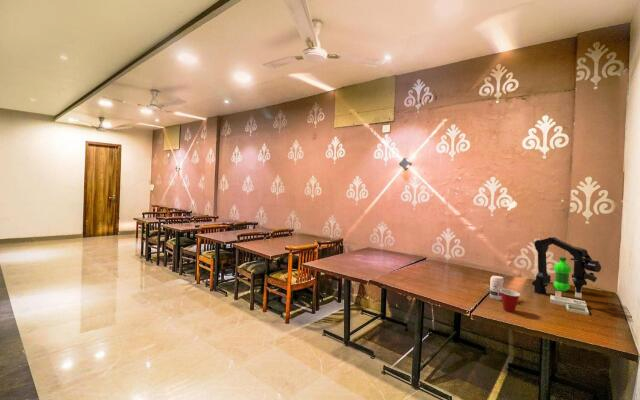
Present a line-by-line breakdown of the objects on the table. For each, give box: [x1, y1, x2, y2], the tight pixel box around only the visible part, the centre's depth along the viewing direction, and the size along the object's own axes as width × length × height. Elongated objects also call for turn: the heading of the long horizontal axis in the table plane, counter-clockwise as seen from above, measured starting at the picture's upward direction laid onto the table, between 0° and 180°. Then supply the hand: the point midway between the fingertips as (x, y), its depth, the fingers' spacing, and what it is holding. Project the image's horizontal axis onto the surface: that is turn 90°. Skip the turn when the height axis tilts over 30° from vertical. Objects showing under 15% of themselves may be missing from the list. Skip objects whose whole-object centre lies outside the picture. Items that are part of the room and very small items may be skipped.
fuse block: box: [549, 294, 588, 308], centre depth 200 cm, size 18×10×4 cm, turn 54°
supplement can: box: [489, 275, 505, 301], centre depth 210 cm, size 8×8×15 cm
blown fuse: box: [574, 287, 583, 300], centre depth 196 cm, size 3×3×7 cm
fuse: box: [554, 290, 562, 300], centre depth 202 cm, size 3×3×7 cm
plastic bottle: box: [553, 256, 572, 293], centre depth 230 cm, size 10×10×25 cm
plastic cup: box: [500, 288, 521, 313], centre depth 189 cm, size 11×11×12 cm
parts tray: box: [565, 304, 590, 316], centre depth 189 cm, size 10×10×2 cm
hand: (578, 292), depth 196 cm, fingers closed on blown fuse, 3 cm apart
